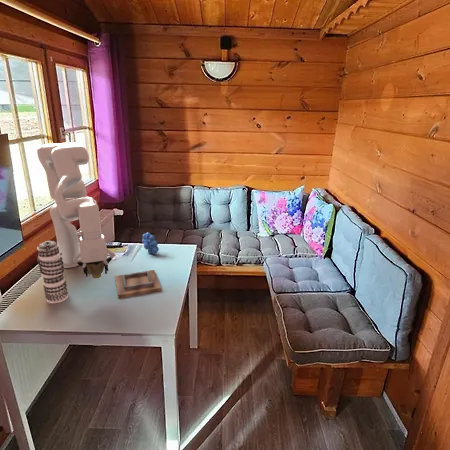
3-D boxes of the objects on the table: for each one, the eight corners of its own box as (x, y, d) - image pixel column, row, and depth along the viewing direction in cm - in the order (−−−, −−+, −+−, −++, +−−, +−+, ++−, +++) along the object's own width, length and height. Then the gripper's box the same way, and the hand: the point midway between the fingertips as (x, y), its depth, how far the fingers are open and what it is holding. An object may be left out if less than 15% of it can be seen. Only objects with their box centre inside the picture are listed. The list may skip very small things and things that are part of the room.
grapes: (137, 253, 190) (135, 232, 185) (147, 249, 195) (145, 229, 191) (152, 259, 183) (150, 237, 179) (161, 254, 188) (160, 233, 184)
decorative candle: (45, 295, 150) (34, 240, 141) (69, 290, 153) (60, 237, 145) (44, 306, 142) (33, 249, 133) (69, 301, 145) (59, 245, 137)
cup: (88, 283, 141) (85, 265, 138) (86, 274, 147) (83, 257, 144) (107, 279, 144) (105, 261, 141) (104, 270, 150) (102, 254, 147)
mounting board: (118, 298, 147) (117, 292, 146) (115, 278, 163) (114, 272, 162) (161, 290, 153) (160, 284, 152) (154, 272, 169) (154, 266, 168)
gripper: (66, 240, 132) (73, 281, 139) (115, 234, 138) (119, 274, 144) (67, 232, 139) (74, 272, 145) (113, 227, 144) (117, 266, 151)
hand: (96, 273), depth 145 cm, fingers closed on cup, 6 cm apart
